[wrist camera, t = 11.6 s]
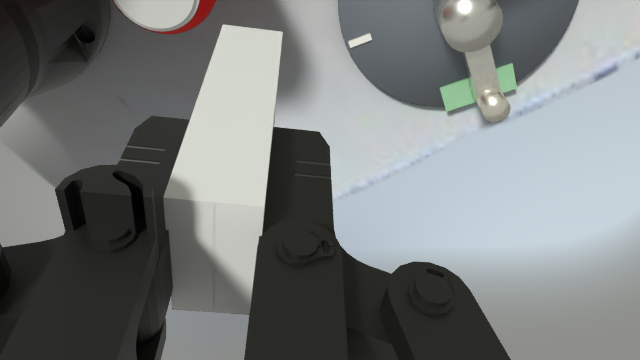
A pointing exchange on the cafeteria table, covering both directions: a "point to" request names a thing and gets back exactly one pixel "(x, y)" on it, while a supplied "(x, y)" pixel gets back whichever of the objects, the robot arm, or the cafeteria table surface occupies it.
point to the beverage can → (165, 14)
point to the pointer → (475, 48)
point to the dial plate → (444, 46)
